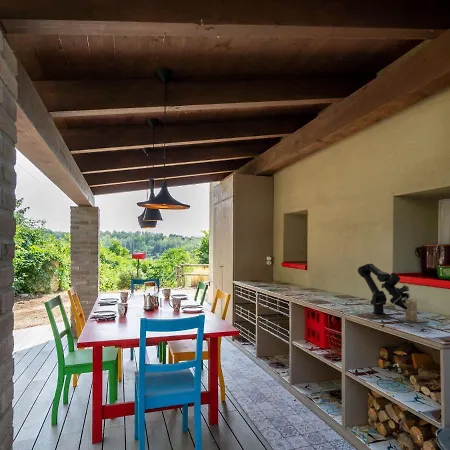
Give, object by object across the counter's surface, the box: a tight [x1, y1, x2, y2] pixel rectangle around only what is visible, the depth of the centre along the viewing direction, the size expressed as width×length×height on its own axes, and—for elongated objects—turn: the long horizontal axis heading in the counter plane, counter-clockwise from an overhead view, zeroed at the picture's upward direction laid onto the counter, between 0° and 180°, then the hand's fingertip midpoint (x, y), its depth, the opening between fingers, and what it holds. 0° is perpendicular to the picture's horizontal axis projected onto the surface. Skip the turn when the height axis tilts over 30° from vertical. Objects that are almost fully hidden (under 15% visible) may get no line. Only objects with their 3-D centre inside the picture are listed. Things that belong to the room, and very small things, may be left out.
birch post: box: [405, 298, 418, 321], centre depth 233 cm, size 5×5×13 cm
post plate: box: [394, 316, 430, 325], centre depth 232 cm, size 14×14×4 cm
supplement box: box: [394, 291, 411, 312], centre depth 268 cm, size 7×7×13 cm
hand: (409, 308), depth 233 cm, fingers open, 9 cm apart
